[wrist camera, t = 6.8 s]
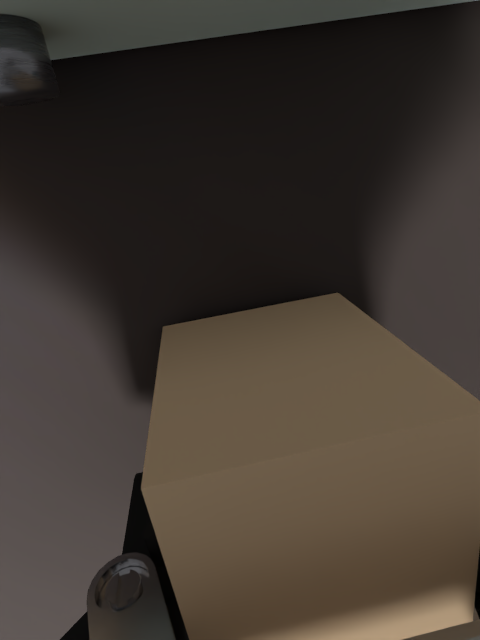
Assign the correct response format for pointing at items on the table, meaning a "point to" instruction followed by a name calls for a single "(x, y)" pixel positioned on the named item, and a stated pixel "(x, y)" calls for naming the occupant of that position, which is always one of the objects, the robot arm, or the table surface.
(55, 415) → the table surface
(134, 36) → the sage gate
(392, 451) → the block
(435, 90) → the table surface
